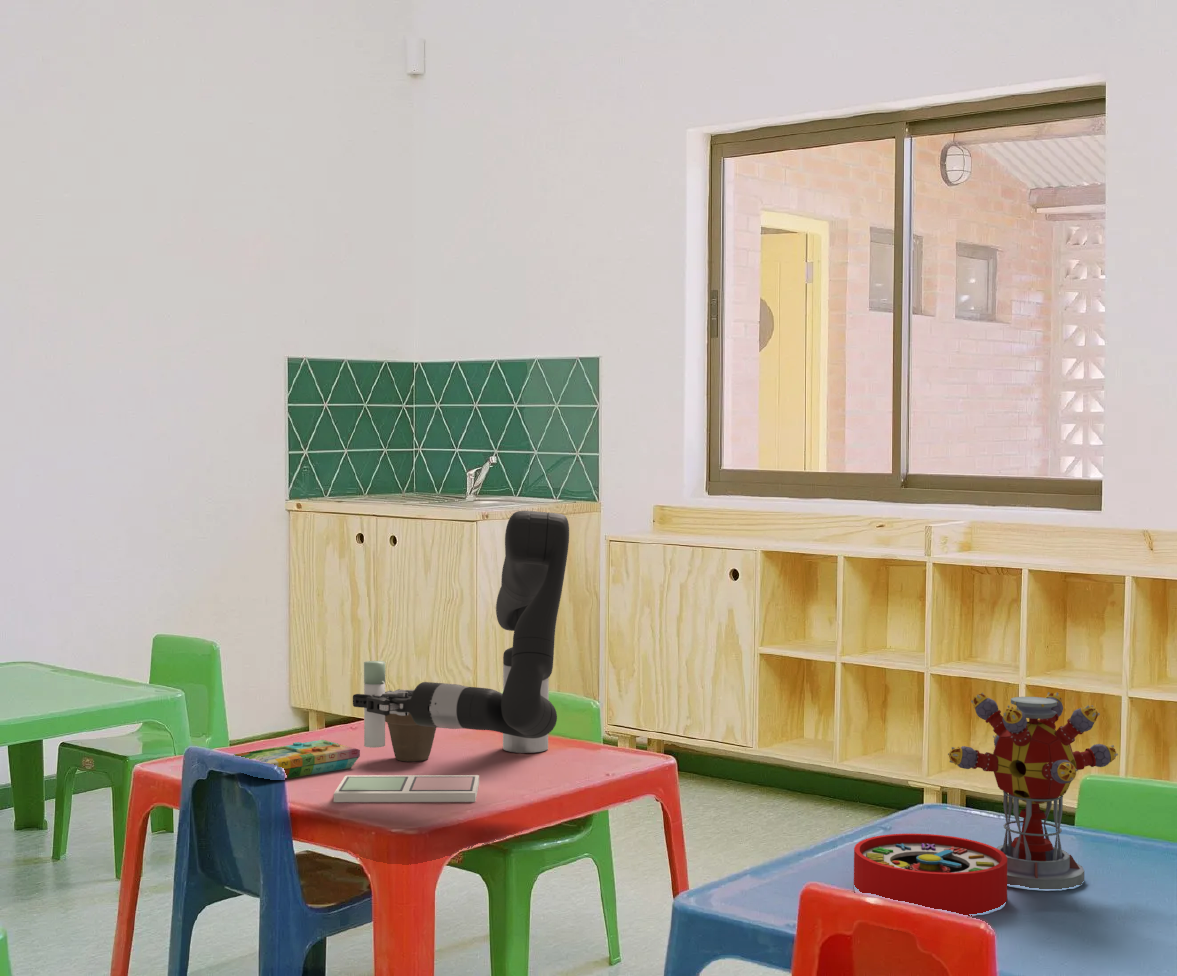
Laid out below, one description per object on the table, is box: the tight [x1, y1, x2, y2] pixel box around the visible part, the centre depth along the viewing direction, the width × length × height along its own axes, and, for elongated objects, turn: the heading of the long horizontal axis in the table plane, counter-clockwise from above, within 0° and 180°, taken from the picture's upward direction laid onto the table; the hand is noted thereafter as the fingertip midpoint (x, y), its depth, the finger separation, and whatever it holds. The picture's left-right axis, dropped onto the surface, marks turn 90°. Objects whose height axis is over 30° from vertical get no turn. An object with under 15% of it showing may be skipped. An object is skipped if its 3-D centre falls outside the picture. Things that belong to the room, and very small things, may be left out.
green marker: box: [363, 660, 386, 749], centre depth 244 cm, size 4×4×15 cm
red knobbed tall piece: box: [947, 691, 1119, 889], centre depth 196 cm, size 18×18×25 cm
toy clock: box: [853, 833, 1008, 916], centre depth 187 cm, size 20×6×20 cm
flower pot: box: [385, 713, 437, 763], centre depth 274 cm, size 12×11×10 cm
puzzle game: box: [233, 739, 361, 779], centre depth 262 cm, size 12×5×20 cm
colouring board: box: [333, 774, 480, 803], centre depth 245 cm, size 14×24×2 cm, turn 92°
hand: (361, 698), depth 245 cm, fingers closed on green marker, 3 cm apart
